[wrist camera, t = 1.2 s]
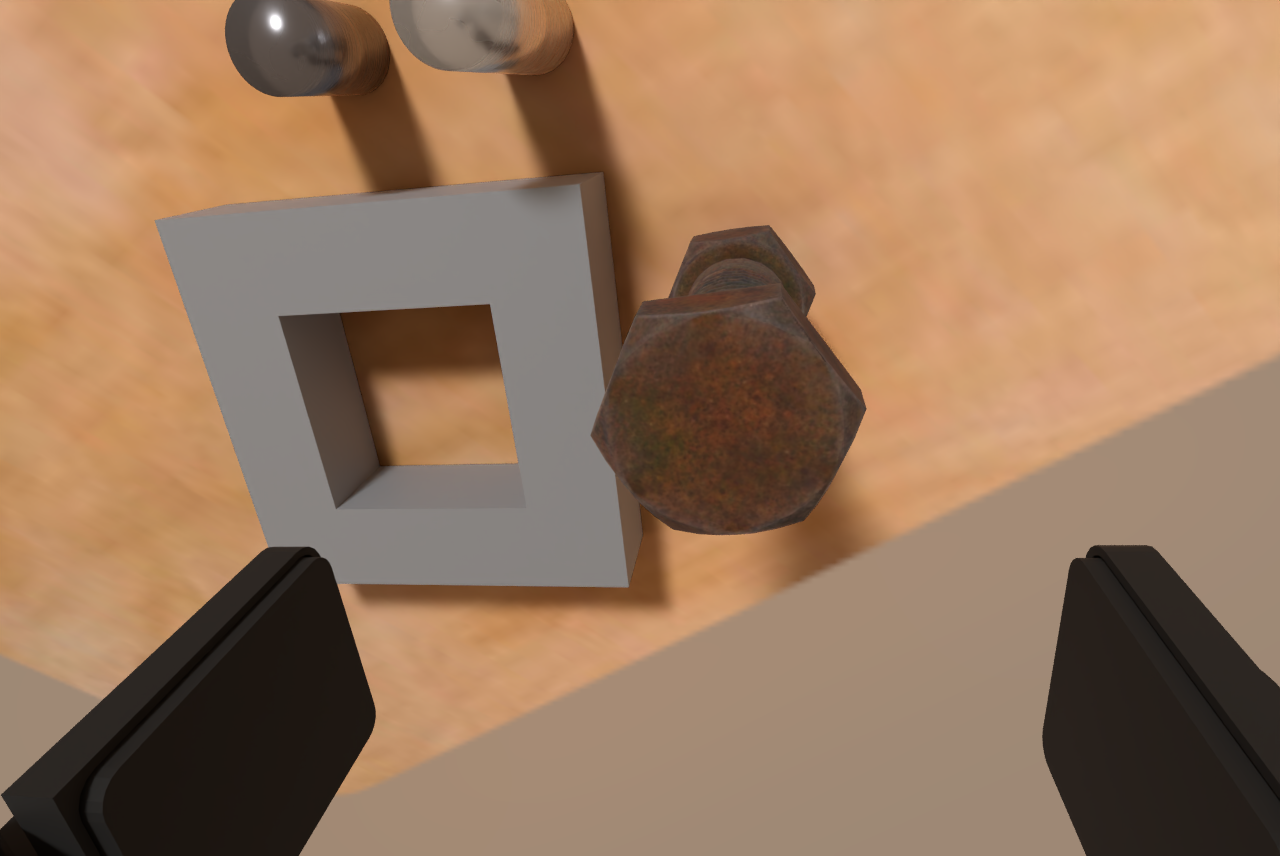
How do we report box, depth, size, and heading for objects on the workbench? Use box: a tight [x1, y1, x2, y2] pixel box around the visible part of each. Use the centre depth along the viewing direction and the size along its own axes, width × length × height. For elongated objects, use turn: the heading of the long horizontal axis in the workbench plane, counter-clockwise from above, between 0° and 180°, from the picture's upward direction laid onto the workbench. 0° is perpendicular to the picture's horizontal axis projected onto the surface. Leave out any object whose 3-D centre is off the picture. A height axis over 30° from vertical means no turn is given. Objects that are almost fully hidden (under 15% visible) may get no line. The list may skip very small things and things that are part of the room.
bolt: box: [590, 225, 866, 535], centre depth 22 cm, size 6×5×15 cm
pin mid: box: [390, 0, 574, 75], centre depth 23 cm, size 3×3×8 cm
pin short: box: [225, 0, 390, 97], centre depth 25 cm, size 3×3×5 cm
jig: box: [155, 172, 643, 587], centre depth 31 cm, size 16×16×4 cm
